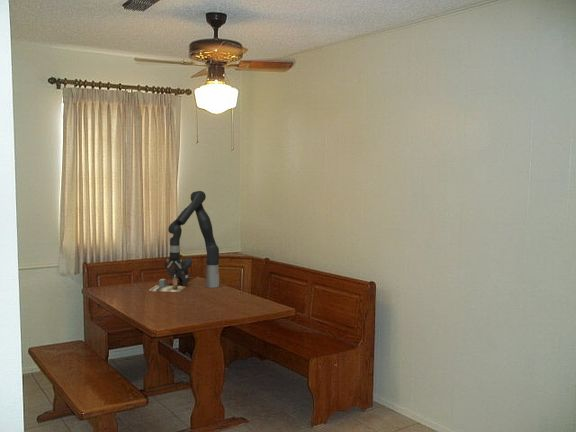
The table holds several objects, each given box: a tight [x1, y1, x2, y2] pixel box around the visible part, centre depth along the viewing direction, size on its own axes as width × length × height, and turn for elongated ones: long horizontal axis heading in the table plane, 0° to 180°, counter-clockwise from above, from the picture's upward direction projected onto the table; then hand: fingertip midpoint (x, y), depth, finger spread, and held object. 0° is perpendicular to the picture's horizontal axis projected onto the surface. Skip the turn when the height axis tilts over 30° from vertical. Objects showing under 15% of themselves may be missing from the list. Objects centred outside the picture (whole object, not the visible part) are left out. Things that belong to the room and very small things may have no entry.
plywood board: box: [149, 284, 186, 293], centre depth 408 cm, size 23×15×1 cm, turn 86°
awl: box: [171, 275, 178, 290], centre depth 402 cm, size 4×4×11 cm
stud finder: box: [158, 278, 168, 288], centre depth 411 cm, size 4×6×6 cm, turn 176°
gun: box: [166, 257, 194, 285], centre depth 426 cm, size 7×28×20 cm, turn 154°
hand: (174, 273), depth 402 cm, fingers open, 8 cm apart
